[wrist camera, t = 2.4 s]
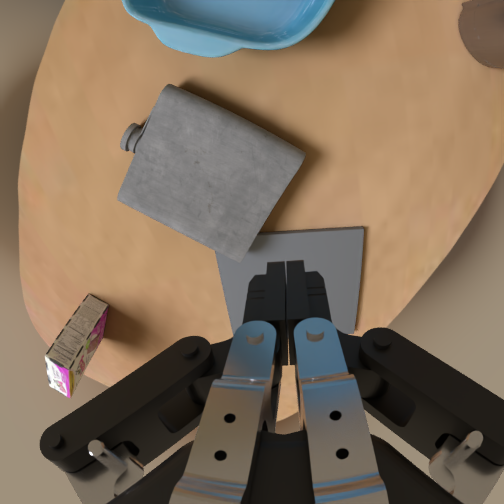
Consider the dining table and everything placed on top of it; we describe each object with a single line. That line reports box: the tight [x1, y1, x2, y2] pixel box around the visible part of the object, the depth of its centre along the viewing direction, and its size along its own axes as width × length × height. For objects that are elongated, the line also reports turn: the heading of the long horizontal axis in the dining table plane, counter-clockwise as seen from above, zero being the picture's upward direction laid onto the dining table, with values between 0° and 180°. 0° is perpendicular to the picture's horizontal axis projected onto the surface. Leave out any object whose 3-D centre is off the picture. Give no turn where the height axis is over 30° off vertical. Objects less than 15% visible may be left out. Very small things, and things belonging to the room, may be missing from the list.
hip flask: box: [118, 84, 306, 263], centre depth 34 cm, size 16×4×20 cm
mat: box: [215, 226, 364, 335], centre depth 43 cm, size 19×20×1 cm
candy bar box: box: [45, 294, 109, 398], centre depth 44 cm, size 11×5×16 cm, turn 153°
